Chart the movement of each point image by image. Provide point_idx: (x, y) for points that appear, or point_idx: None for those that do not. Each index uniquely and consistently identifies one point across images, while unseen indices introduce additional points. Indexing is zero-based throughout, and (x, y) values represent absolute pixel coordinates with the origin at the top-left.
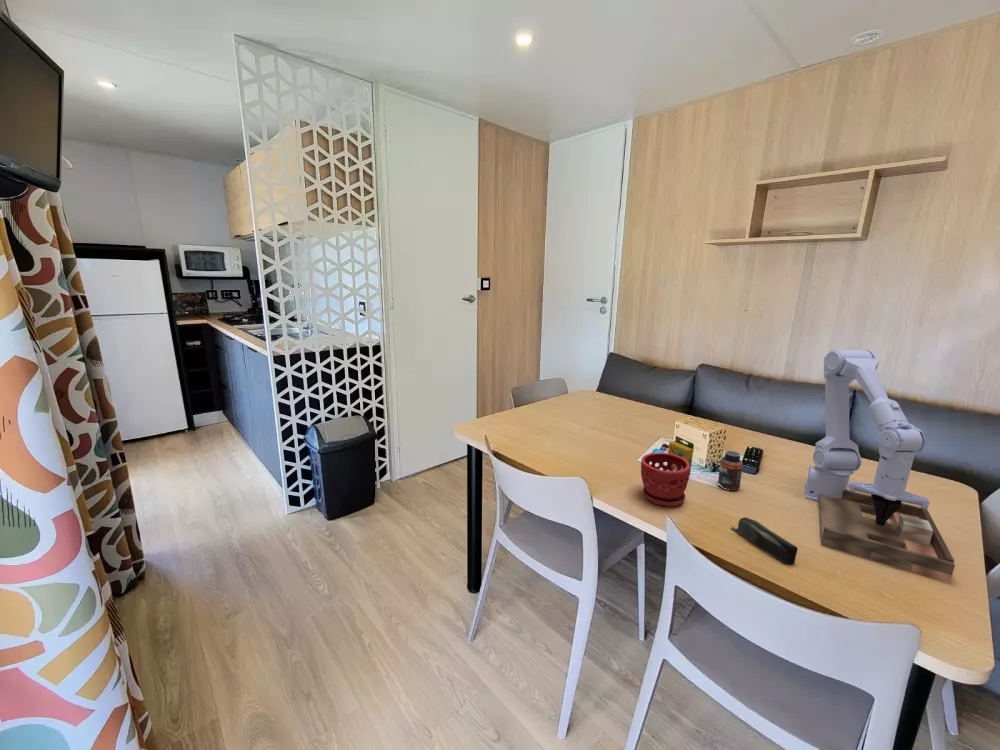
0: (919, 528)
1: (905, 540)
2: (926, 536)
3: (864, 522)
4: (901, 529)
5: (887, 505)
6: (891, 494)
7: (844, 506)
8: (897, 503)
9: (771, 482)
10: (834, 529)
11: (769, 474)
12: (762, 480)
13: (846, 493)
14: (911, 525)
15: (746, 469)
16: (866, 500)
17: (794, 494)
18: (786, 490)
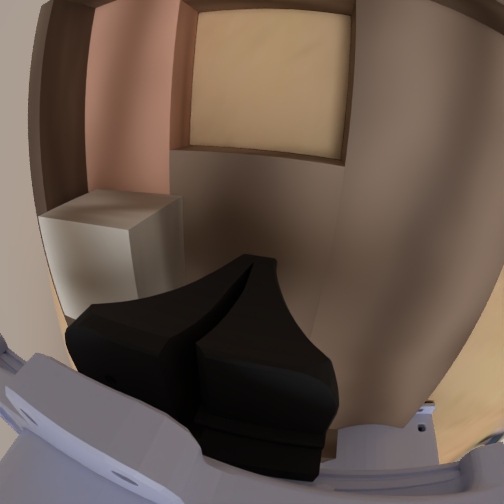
0: (75, 218)
1: (164, 184)
2: (78, 204)
3: (320, 290)
4: (160, 229)
5: (187, 351)
6: (68, 489)
7: (354, 391)
8: (96, 370)
9: (474, 427)
10: (495, 132)
11: (450, 453)
12: (489, 424)
13: (325, 450)
14: (98, 226)
15: (488, 444)
16: None
17: (455, 404)
18: (463, 412)
